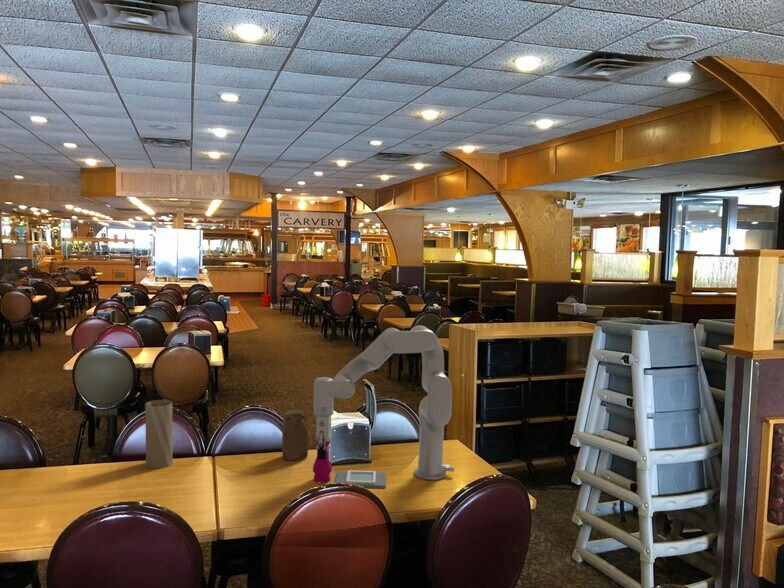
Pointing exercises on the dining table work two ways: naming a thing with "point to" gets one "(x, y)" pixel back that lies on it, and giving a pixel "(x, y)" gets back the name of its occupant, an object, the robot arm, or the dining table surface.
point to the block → (294, 435)
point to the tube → (158, 434)
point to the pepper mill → (322, 466)
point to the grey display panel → (362, 478)
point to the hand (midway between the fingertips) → (322, 455)
